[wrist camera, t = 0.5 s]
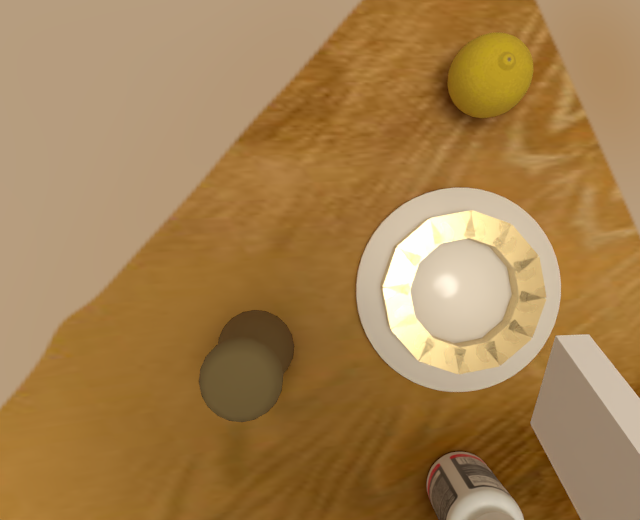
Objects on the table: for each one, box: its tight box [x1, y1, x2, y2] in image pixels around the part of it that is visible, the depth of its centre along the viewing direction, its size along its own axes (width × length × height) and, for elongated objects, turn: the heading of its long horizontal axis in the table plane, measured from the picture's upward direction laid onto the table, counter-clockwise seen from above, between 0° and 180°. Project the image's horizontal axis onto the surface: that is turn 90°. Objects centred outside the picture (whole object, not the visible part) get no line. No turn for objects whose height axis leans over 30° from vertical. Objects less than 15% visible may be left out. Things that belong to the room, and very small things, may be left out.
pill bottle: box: [426, 452, 524, 520], centre depth 39 cm, size 5×5×10 cm
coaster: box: [356, 188, 561, 392], centre depth 43 cm, size 16×16×1 cm
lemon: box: [447, 33, 533, 118], centre depth 39 cm, size 6×6×8 cm
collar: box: [380, 210, 547, 374], centre depth 42 cm, size 12×12×2 cm
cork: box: [199, 310, 294, 422], centre depth 38 cm, size 6×6×11 cm
